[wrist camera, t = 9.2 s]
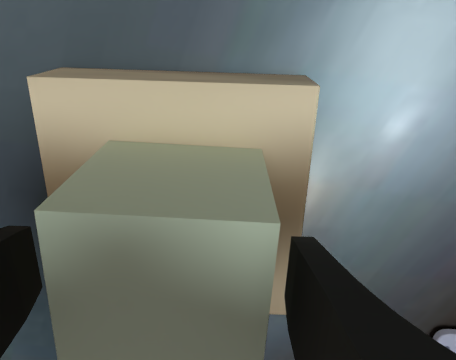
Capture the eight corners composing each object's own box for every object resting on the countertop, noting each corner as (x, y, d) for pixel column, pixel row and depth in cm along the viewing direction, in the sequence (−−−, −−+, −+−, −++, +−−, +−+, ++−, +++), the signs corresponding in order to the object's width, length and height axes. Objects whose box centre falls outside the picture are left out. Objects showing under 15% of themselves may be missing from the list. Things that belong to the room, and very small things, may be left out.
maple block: (282, 269, 18) (291, 315, 15) (93, 263, 18) (67, 307, 15) (303, 73, 14) (320, 86, 11) (66, 66, 14) (26, 76, 11)
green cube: (249, 275, 14) (259, 395, 10) (117, 268, 14) (61, 387, 9) (261, 148, 12) (280, 223, 8) (108, 140, 12) (33, 210, 8)
